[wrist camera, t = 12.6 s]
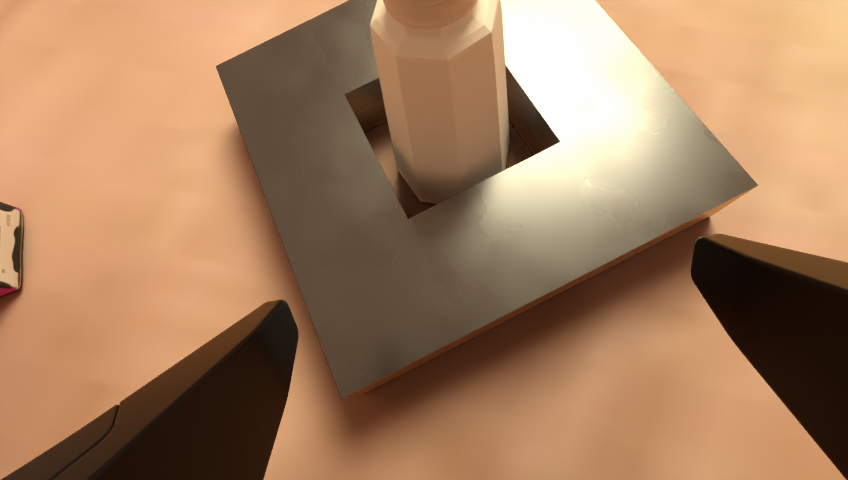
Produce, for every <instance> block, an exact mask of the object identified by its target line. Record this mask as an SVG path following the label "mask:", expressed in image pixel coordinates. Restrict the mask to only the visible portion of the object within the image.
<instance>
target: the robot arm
mask: <svg viewBox="0 0 848 480" xmlns="http://www.w3.org/2000/svg"><path fill="white" fill-rule="evenodd" d="M691 276H692V279H693V282H694V283H695V285H696V287H697V288H698V290H699V291H700V293H701V294H702V296H703V297H704V299H705V300H706V302H707V303H708V305H709V306H710V308H711V309H712V311H713V312H714V314H715V316H716V317H717V319H718V320H719V322H720V323H721V325H722V326H723V328H724V329H725V331H726V332H727V334H728V335H729V336H730V338H731V339H732V341H733V342H734V343H735V344H736V346H737V347H738V348H739V350H740V351H741V352H742V353H743V354H744V356H745V357H746V358H747V359H748V361H749V362H750V363H751V364H752V365H753V367H754V368H755V369H756V370H757V372H758V373H759V374H760V375H761V376H762V378H763V379H764V380H765V381H766V382H767V384H768V385H769V386H770V387H771V389H772V390H773V391H774V392H775V393H776V395H777V396H778V397H779V398H780V399H781V401H782V402H783V403H784V404H785V406H786V407H787V408H788V409H789V410H790V412H791V413H792V414H793V415H794V416H795V418H796V419H797V420H798V421H799V423H800V424H801V425H802V426H803V427H804V429H805V430H806V431H807V432H808V434H809V435H810V436H811V437H812V438H813V440H814V441H815V442H816V443H817V444H818V446H819V447H820V448H821V449H822V451H823V452H824V453H825V454H826V455H827V457H828V458H829V459H830V460H831V461H832V463H833V464H834V465H835V466H836V468H837V469H838V470H839V471H840V472H841V474H842V475H843V476H844V477H845V479H846V480H848V263H847V262H843V261H838V260H834V259H830V258H825V257H821V256H816V255H812V254H807V253H803V252H799V251H794V250H790V249H785V248H781V247H776V246H772V245H768V244H763V243H759V242H754V241H750V240H745V239H741V238H737V237H732V236H728V235H723V234H714V235H707V236H701V237H699V238H698V239H697V240H696V241H695V244H694V251H693V258H692V265H691ZM297 343H298V328H297V325H296V323H295V321H294V318H293V316H292V313H291V311H290V308H289V306H288V304H287V303H286V301H284V300H276V301H270V302H266V303H264V304H263V305H261V306H260V307H258V308H257V309H255V310H254V311H253V312H251V313H250V314H248V315H247V316H245V317H244V318H242V319H241V320H239V321H238V322H236V323H235V324H234V325H232V326H231V327H229V328H228V329H226V330H225V331H223V332H222V333H220V334H219V335H217V336H216V337H215V338H213V339H212V340H210V341H209V342H207V343H206V344H204V345H203V346H201V347H200V348H198V349H197V350H196V351H194V352H193V353H191V354H190V355H188V356H187V357H185V358H184V359H182V360H181V361H179V362H178V363H177V364H175V365H174V366H172V367H171V368H169V369H168V370H166V371H165V372H163V373H162V374H160V375H159V376H158V377H156V378H155V379H153V380H152V381H150V382H149V383H147V384H146V385H144V386H143V387H141V388H140V389H139V390H137V391H136V392H134V393H133V394H131V395H130V396H128V397H127V398H125V399H124V400H122V401H121V402H120V405H115V406H114V407H112V408H111V409H109V410H108V411H106V412H105V413H103V414H102V415H100V416H99V417H97V418H96V419H94V420H93V421H91V422H90V423H88V424H87V425H85V426H84V427H82V428H81V429H79V430H78V431H76V432H75V433H73V434H72V435H71V436H69V437H68V438H66V439H65V440H63V441H61V442H60V443H58V444H57V445H55V446H54V447H52V448H50V449H49V450H47V451H46V452H44V453H43V454H41V455H39V456H38V457H36V458H35V459H33V460H32V461H30V462H29V463H27V464H25V465H24V466H22V467H21V468H19V469H17V470H16V471H14V472H13V473H11V474H9V475H8V476H6V477H5V478H3V479H1V480H263V479H264V476H265V472H266V469H267V465H268V462H269V459H270V455H271V452H272V449H273V445H274V442H275V439H276V435H277V432H278V428H279V425H280V422H281V418H282V415H283V412H284V408H285V405H286V401H287V397H288V392H289V388H290V382H291V376H292V371H293V365H294V360H295V354H296V348H297Z"/></svg>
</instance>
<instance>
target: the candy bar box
mask: <svg viewBox="0 0 848 480" xmlns="http://www.w3.org/2000/svg"><path fill="white" fill-rule="evenodd" d="M22 236H23V218H22V211H21V209H19V208H16V207H13V206H10V205H7V204H4V203H2V202H0V296H2V295H5V294H7V293H10V292H12V291H15V290H18V289H19V288H20V286H21V268H22V263H21V257H22V243H23V241H22Z"/></svg>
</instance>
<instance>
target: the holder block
mask: <svg viewBox="0 0 848 480" xmlns="http://www.w3.org/2000/svg"><path fill="white" fill-rule="evenodd" d="M376 3H377V0H349V1H347V2H345V3H343V4H341V5H339V6H337V7H335V8H333V9H331V10H329V11H327V12H325V13H323V14H321V15H319V16H317V17H315V18H313V19H311V20H309V21H307V22H304V23H302V24H300V25H298V26H296V27H294V28H292V29H290V30H288V31H286V32H284V33H282V34H280V35H278V36H276V37H274V38H272V39H270V40H268V41H266V42H264V43H262V44H260V45H258V46H256V47H254V48H252V49H250V50H248V51H246V52H244V53H242V54H240V55H238V56H236V57H234V58H232V59H230V60H227V61H225V62H223V63H221V64H219V65H217V66H216V68H217V71H218V73H219V76H220V79H221V81H222V84H223V87H224V89H225V92H226V95H227V97H228V100H229V103H230V105H231V108H232V110H233V113H234V116H235V118H236V121H237V124H238V126H239V129H240V132H241V134H242V137H243V140H244V142H245V145H246V148H247V150H248V153H249V156H250V158H251V161H252V164H253V166H254V169H255V171H256V174H257V177H258V179H259V182H260V185H261V187H262V190H263V193H264V195H265V198H266V201H267V203H268V206H269V209H270V211H271V214H272V217H273V219H274V222H275V225H276V227H277V230H278V232H279V235H280V238H281V240H282V243H283V246H284V248H285V251H286V254H287V256H288V259H289V262H290V264H291V267H292V270H293V272H294V275H295V278H296V280H297V283H298V286H299V288H300V291H301V293H302V296H303V299H304V301H305V304H306V307H307V309H308V312H309V315H310V317H311V320H312V323H313V325H314V328H315V331H316V333H317V336H318V339H319V341H320V344H321V347H322V349H323V352H324V354H325V357H326V360H327V362H328V365H329V368H330V370H331V373H332V376H333V378H334V381H335V384H336V386H337V389H338V392H339V394H340V397H341V399H343V398H347V397H352V396H356V395H360V394H364V393H367V392H369V391H371V390H373V389H375V388H376V387H378V386H380V385H382V384H384V383H386V382H388V381H390V380H392V379H394V378H396V377H398V376H400V375H402V374H404V373H406V372H408V371H410V370H412V369H414V368H415V367H417V366H419V365H421V364H423V363H425V362H427V361H429V360H431V359H433V358H435V357H437V356H439V355H441V354H443V353H445V352H447V351H449V350H451V349H452V348H454V347H456V346H458V345H460V344H462V343H464V342H466V341H468V340H470V339H472V338H474V337H476V336H478V335H480V334H482V333H484V332H486V331H488V330H490V329H491V328H493V327H495V326H497V325H499V324H501V323H503V322H505V321H507V320H509V319H511V318H513V317H515V316H517V315H519V314H521V313H523V312H525V311H527V310H529V309H530V308H532V307H534V306H536V305H538V304H540V303H542V302H544V301H546V300H548V299H550V298H552V297H554V296H556V295H558V294H560V293H562V292H564V291H566V290H568V289H569V288H571V287H573V286H575V285H577V284H579V283H581V282H583V281H585V280H587V279H589V278H591V277H593V276H595V275H597V274H599V273H601V272H603V271H605V270H607V269H608V268H610V267H612V266H614V265H616V264H618V263H620V262H622V261H624V260H626V259H628V258H630V257H632V256H634V255H636V254H638V253H640V252H642V251H644V250H645V249H647V248H649V247H651V246H653V245H655V244H657V243H659V242H661V241H663V240H665V239H667V238H669V237H671V236H673V235H675V234H677V233H679V232H681V231H683V230H684V229H686V228H688V227H690V226H692V225H694V224H696V223H698V222H700V221H702V220H704V219H706V218H708V217H710V216H712V215H713V214H715V213H716V212H718V211H719V210H721V209H722V208H724V207H725V206H727V205H728V204H730V203H732V202H733V201H735V200H736V199H738V198H739V197H741V196H742V195H744V194H745V193H747V192H749V191H750V190H752V189H753V188H755V187H756V186H758V185H757V183H756V182H755V181H754V180H753V179H752V178H751V177H750V176H749V174H748V173H747V172H746V171H745V170H744V169H743V168H742V166H741V165H740V164H739V163H738V162H737V161H736V160H735V159H734V157H733V156H732V155H731V154H730V153H729V152H728V151H727V149H726V148H725V147H724V146H723V145H722V144H721V143H720V142H719V140H718V139H717V138H716V137H715V136H714V135H713V134H712V132H711V131H710V130H709V129H708V128H707V127H706V126H705V125H704V123H703V122H702V121H701V120H700V119H699V118H698V117H697V116H696V114H695V113H694V112H693V111H692V110H691V109H690V108H689V106H688V105H687V104H686V103H685V102H684V101H683V100H682V99H681V97H680V96H679V95H678V94H677V93H676V92H675V91H674V89H673V88H672V87H671V86H670V85H669V84H668V83H667V82H666V80H665V79H664V78H663V77H662V76H661V75H660V74H659V72H658V71H657V70H656V69H655V68H654V67H653V66H652V65H651V63H650V62H649V61H648V60H647V59H646V58H645V57H644V55H643V54H642V53H641V52H640V51H639V50H638V49H637V48H636V46H635V45H634V44H633V43H632V42H631V41H630V40H629V38H628V37H627V36H626V35H625V34H624V33H623V32H622V31H621V29H620V28H619V27H618V26H617V25H616V24H615V23H614V21H613V20H612V19H611V18H610V17H609V16H608V15H607V14H606V12H605V11H604V10H603V9H602V8H601V7H600V6H599V5H598V3H597V2H596V1H595V0H501V8H502V19H503V35H504V52H505V69H506V85H507V102H508V119H509V120H510V122H511V123H512V125H513V126H514V128H515V129H516V131H517V132H518V134H519V135H520V136H521V138H522V139H523V141H524V142H525V144H526V145H527V147H528V148H529V150H530V151H531V153H532V154H533V156H532V157H530V158H528V159H526V160H524V161H522V162H520V163H518V164H516V165H514V166H512V167H510V168H508V169H506V170H504V171H502V172H500V173H498V174H496V175H494V176H492V177H490V178H488V179H486V180H484V181H482V182H480V183H478V184H476V185H474V186H472V187H470V188H468V189H466V190H464V191H463V192H461V193H459V194H457V195H455V196H453V197H451V198H449V199H447V200H445V201H443V202H441V203H439V204H437V205H435V206H433V207H431V208H429V209H427V210H425V211H423V212H421V213H419V214H417V215H415V216H413V217H411V218H409V219H408V218H407V216H406V214H405V212H404V210H403V208H402V206H401V204H400V202H399V201H398V199H397V197H396V195H395V193H394V191H393V189H392V187H391V185H390V183H389V181H388V179H387V177H386V175H385V173H384V171H383V169H382V167H381V165H380V163H379V161H378V159H377V157H376V155H375V153H374V151H373V149H372V148H371V146H370V144H369V142H368V140H367V138H366V136H365V134H364V132H366V131H368V130H370V129H372V128H374V127H376V126H378V125H380V124H382V123H384V122H386V121H387V116H386V111H385V106H384V100H383V95H382V90H381V85H380V80H379V75H378V70H377V65H376V60H375V55H374V50H373V44H372V37H371V29H370V23H371V20H372V16H373V13H374V10H375V6H376Z"/></svg>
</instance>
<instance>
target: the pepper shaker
mask: <svg viewBox="0 0 848 480" xmlns="http://www.w3.org/2000/svg"><path fill="white" fill-rule="evenodd" d="M370 29H371V37H372V44H373V50H374V55H375V60H376V65H377V70H378V75H379V80H380V85H381V90H382V95H383V100H384V106H385V111H386V116H387V121H388V126H389V131H390V136H391V141H392V146H393V151H394V156H395V161H396V166H397V170H398V171H399V172H400V174H401V175H402V177H403V178H404V179H405V181H406V182H407V183H408V185H409V186H410V188H411V189H412V190H413V192H414V193H415V194H416V196H417V197H418V199H419V200H420V201H421V202H427V203H434V204H439V203H441V202H443V201H445V200H447V199H449V198H451V197H453V196H455V195H457V194H459V193H461V192H463V191H464V190H466V189H468V188H470V187H472V186H474V185H476V184H478V183H480V182H482V181H484V180H486V179H488V178H490V177H492V176H494V175H496V174H498V173H500V172H502V171H504V170H505V169H506V163H507V157H508V151H509V145H510V135H509V119H508V102H507V85H506V69H505V52H504V35H503V19H502V8H501V0H377V3H376V6H375V10H374V13H373V16H372V20H371V23H370Z"/></svg>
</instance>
